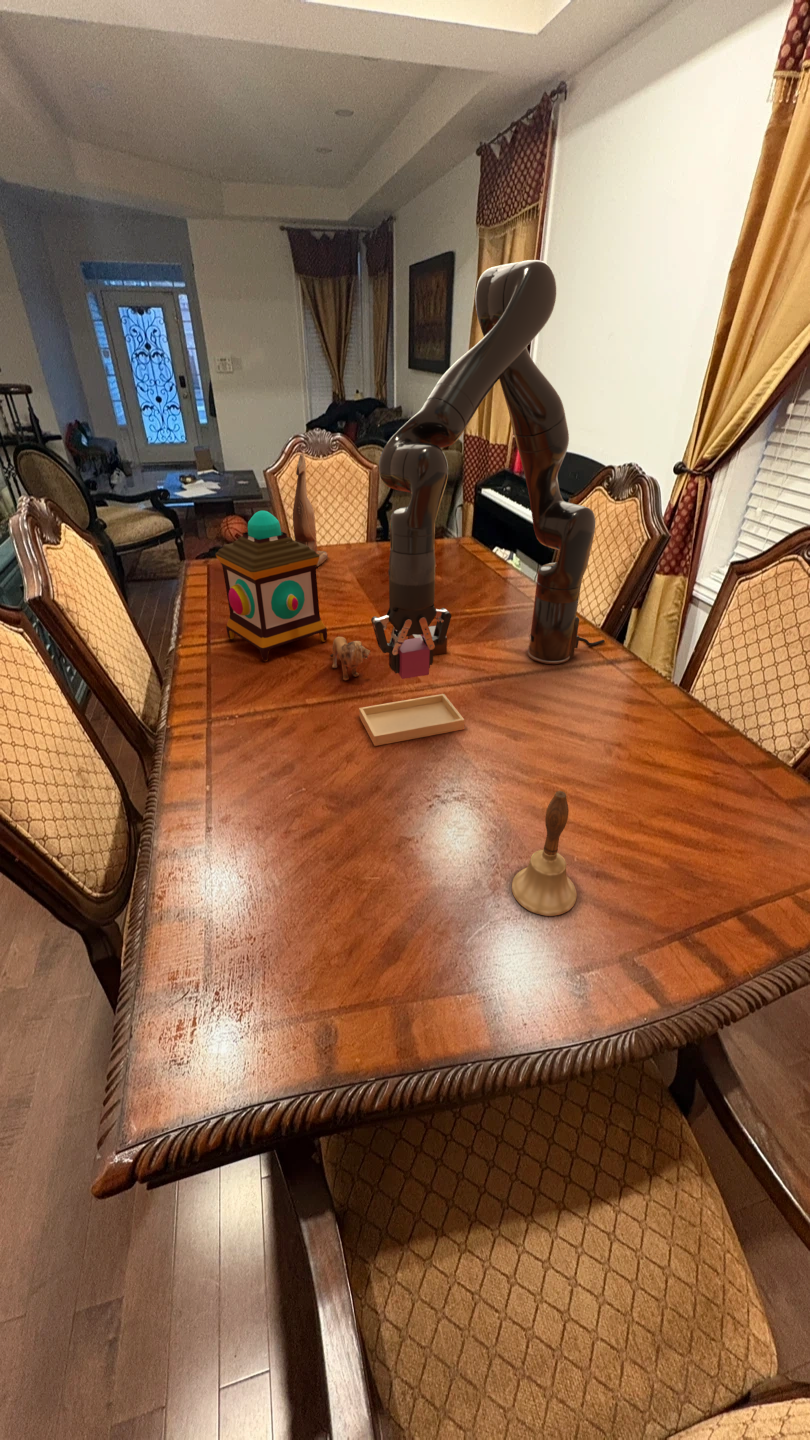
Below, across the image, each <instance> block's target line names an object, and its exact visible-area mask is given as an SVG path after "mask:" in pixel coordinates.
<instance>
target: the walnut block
mask: <svg viewBox="0 0 810 1440" xmlns="http://www.w3.org/2000/svg"><path fill="white" fill-rule="evenodd" d="M428 627H429V630H430V632H431V635H432V637H433V635H434V631H435V628H436V625H431V626H430V625H429V626H428ZM413 638H421V640H422V641H423V639H422V637H421V635H415V634H413V635H411V636H407V639H413ZM447 650H448V637H447V636H446V638H445V642H444V644H443V645H437V646H436V647H435V648H434V649H433V656H437V655H444V654H447V652H448V651H447Z"/></svg>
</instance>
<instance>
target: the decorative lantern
mask: <svg viewBox="0 0 810 1440" xmlns="http://www.w3.org/2000/svg"><path fill="white" fill-rule="evenodd" d="M281 529H282V528H281V524H280V521H279V520H278V519H277V517H276V516H274V515H273V514H272V513H271V512H269V511H267V510H259V511H256V512H255V513H253V515H252V516H251V517H250V519H249V520H248V521H247V531H245V532H242V536H239V537H238V539H237V540H235V541H233V542H231V543H227V544H224V545H223V546H222V547H221V548H219V549H218V551H216V552H215V557H216V559H217V560H218V561H219V563H220V565H221V567H222V572H223V579H224V584H225V590H226V597H227V603H228V609H229V617H228V620H227V623H226V627H225V629H226V633H227V637H228V638H229V639H231V640H234V639H235V638H236V636H238V637H240V638H241V639H243V641H246V642H247V643H249V644H251V645H252V646H254V647H255V648H256V649H257V650H258V651H259V653H260V657H261V659H262V661H263V662H268V660H269V653H270V651H271V650H272V649H275V648H279V647H280V646H285V645H287V644H290V643H293V642H296V641H299V640H302V639H305V638H308V637H311V636H315V635H318V636H319V639H320V642H326V641H327V640H328V629H327V626H326V625H325V623H324V622H323V620H322V618H321V616H320V604H319V591H318V590H319V589H318V578H317V563H318V561H319V557H320V555H319V553H316V552H315V551H314V550H312V549H310V548H309V546H306V545H304V544H301V543H299V542H296V541H295V539H294V540H293V538H292V537H290V536H288V534H287V533H286V532H284V531H282V530H281Z"/></svg>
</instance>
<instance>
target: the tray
mask: <svg viewBox="0 0 810 1440" xmlns="http://www.w3.org/2000/svg"><path fill="white" fill-rule="evenodd" d="M358 712H359V719H360V721H361V723H362V725H363V726H364V729H365V731H366V732H367V735H368V736H369V739H370V740H371V742H372V745H373V746H374V747H377V746H382V745H383V746H384V745H388V744H392V743H397V742H404V741H410V740H414V739H415V740H416V739H419V738H426V737H430V736H435V735H436V736H437V735H441V734H446V733H452V732H456V731H461V730H465V722H466V721H465V718H464V717H463V716H462V714H461V713H460V712H459V711H458V709H457V708H456V707H455V705H453V703H452V702H451V700H450V699H449V698H448V696H447V695H446V694H445V693H439V694H433V695H428V696H427V695H426V696H421V697H416V698H410V699H403V700H398V701H393V702H392V701H391V702H386V703H380V704H374V705H369V706H363V707H359V708H358Z"/></svg>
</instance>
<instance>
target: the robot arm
mask: <svg viewBox="0 0 810 1440" xmlns="http://www.w3.org/2000/svg"><path fill="white" fill-rule="evenodd" d="M556 301H557V282H556V277H555V274H554V272H553V269H552V268H551V267H550V265H549V264H548V263H546V262H545V261H543V260H539V259H528V260H522V261H517V262H511V263H510V262H509V263H504V264H500V265H496V266H492V267H489V268H487V269H486V270H484V271H483V272H482V273H481V275H480V277H479V279H478V281H477V285H476V289H475V309H476V315H477V320H478V324H479V327H480V329H481V330H480V331H481V333H482V335H483V338H481V339H480V340H479V341H478V342H477V343H476V344H475V345H473V347H471V348H470V349H469V350H468V351H467V352H465V353H464V354H463V355H462V356H461V357H459V358H458V359H457V360H456V361H455V362H454V363H453V364H452V365H451V366H450V367H449V368H448V369H447V370H446V371H445V372H444V373H443V374H442V376H441V377H440V379H439V380H438V381H437V382H436V384H435V385H434V388H433V389H432V390H431V393H430V394H429V396H428V397H427V399H426V401H425V402H424V403H423V406H422V407H421V409H420V410H419V411H417V413H416V414H414V415H413V416H412V417H411V418H409V420H408V421H406V422H405V423H404V424H403V425H402V426H401V427H400V428H399V429H398V430H397V431H396V432H395V433H394V434H393V435H392V436H391V437H390V438H389V440H388V441H387V442H386V444H385V445H384V447H383V449H382V451H381V454H380V457H379V461H378V474H379V477H380V479H381V481H382V483H383V484H384V485H385V486H386V487H388V488H390V489H392V490H395V491H399V492H406V493H409V494H411V495H410V497H411V498H410V501H409V503H408V506H404V507H399V508H397V509H395V510H394V511H393V512H392V513H391V515H390V520H389V534H390V535H389V539H390V541H389V542H390V543H389V556H388V557H389V559H388V570H387V574H388V591H389V592H388V598H389V599H388V602H389V606H388V607H389V608H388V610H387V612H386V614H385V615H383V616H380V617H377V616H372V617H371V619H370V622H371V624H372V628H373V632H374V636H375V639H376V643H377V646H378V648H379V649H380V651H381V652H382V653H383V654H388V666H389V668H390V670H391V671H392V672H393V673H394V674H398V673H400V655H399V651H400V648H401V645H402V644H403V643H404V641H405V640H406V638H407V637H408V636H411V635H413V634H415V635H421V637H422V639H423V642H424V643H425V644H426V645H427V647H428V648H429V649H430V656H429V669H431V666H432V665H433V664H434V655H433V649H434V648H435V647H436V646H437V645H443V644H444V642H445V638H446V637H447V634H448V631H449V628H450V627H449V626H450V623H451V620H452V613H451V612H450V611H449V610H448V609H447V608H445V607H441V608H440V609H438V608H436V607H435V601H436V600H435V597H436V596H435V595H436V567H437V566H436V563H437V562H436V554H435V552H436V551H435V546H436V540H435V539H436V522H437V518H438V514H439V511H440V508H441V503H442V500H443V496H444V493H445V489H446V486H447V482H448V477H449V465H448V460H447V457H446V455H445V453H444V451H443V449H442V448H446V447H450V446H452V445H454V444H456V443H457V441H459V439H460V438H461V436H462V434H463V433H464V431H465V430H466V428H467V426H468V425H469V424H470V422H471V420H472V419H473V417H474V415H475V414H476V412H477V410H478V408H479V407H480V405H481V404H482V403H483V401H484V399H485V398H486V397H487V395H488V394H489V392H490V391H491V390H492V388H493V387H494V386H495V385H496V384H497V382H498V381H499V383H500V386H501V390H502V394H503V397H504V400H505V404H506V408H507V411H508V415H509V419H510V423H511V429H512V432H513V436H514V440H515V444H516V447H517V448H516V449H517V450H518V455H519V457H520V461H521V465H522V469H523V473H524V474H523V475H524V478H525V483H526V487H527V491H528V492H527V493H528V497H529V498H528V499H529V504H530V511H531V519H532V526H533V530H534V534H535V537H536V539H537V541H538V542H539V543H540V544H541V545H543V546H545V547H547V548H549V549H550V548H551V549H554V550H557V551H559V552H558V553H559V554H558V558H557V561H556V562H549V563H545V564H543V565H541V566H539V568H538V571H537V576H536V585H535V591H534V592H535V593H534V601H533V609H532V617H531V626H530V631H529V632H528V640H529V643H528V649H527V655H528V657H529V658H530V659H531V660H533V661H535V662H538V663H541V664H545V665H559V664H560V665H561V664H564V663H566V662H568V661H570V659H573V658H574V656H575V649H578V647H579V642H584V643H585V645H587V646H588V647H593V646H594V647H595V646H598V645H601V644H605V643H606V641H605V639H601V640H598V641H595V642H589V640H588V639H586V638H583V637H580V636H579V635H578V632H579V625H580V618H579V616H577V613H578V607H579V600H580V593H581V587H582V582H583V578H584V575H585V573H586V571H587V568H588V565H589V561H590V556H591V551H592V547H593V542H594V537H595V533H596V516H595V513H594V511H593V510H592V508H590V507H588V506H584V505H580V504H575V503H572V502H568V501H565V500H564V499H563V496H562V494H561V491H560V486H559V485H560V484H559V479H558V477H559V472H560V469H561V466H562V464H563V461H564V459H565V457H566V454H567V451H568V448H569V444H570V443H569V442H570V433H569V427H568V422H567V417H566V411H565V407H564V404H563V401H562V399H561V396H560V394H559V393H558V392H557V390H556V388H555V387H554V386H553V384H552V383H551V382H550V381H549V380H548V378H547V377H546V376H545V374H544V373H543V372H542V371H541V370H540V368H539V366H537V364H536V363H535V362H534V360H533V358H532V357H531V354H530V352H529V350H528V345H530V344H531V343H532V341H534V339H535V338H536V337H537V336H538V334H540V332H541V331H542V330H543V328H544V327H545V326H546V324H547V323H548V321H549V320H550V319H551V316H552V314H553V312H554V309H555V308H554V307H555V305H556ZM434 619H435V621H436V624H435V626H436V628H435V631H434V635H433V637H432V635H431V632H430V630H429V627H430V625H431V624H432V622H433V621H434ZM388 623H390V624H391V626H392V630H391V634H390V640H389V642H388V641H387V636H386V633H385V631H386V630H387V628H388Z"/></svg>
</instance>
